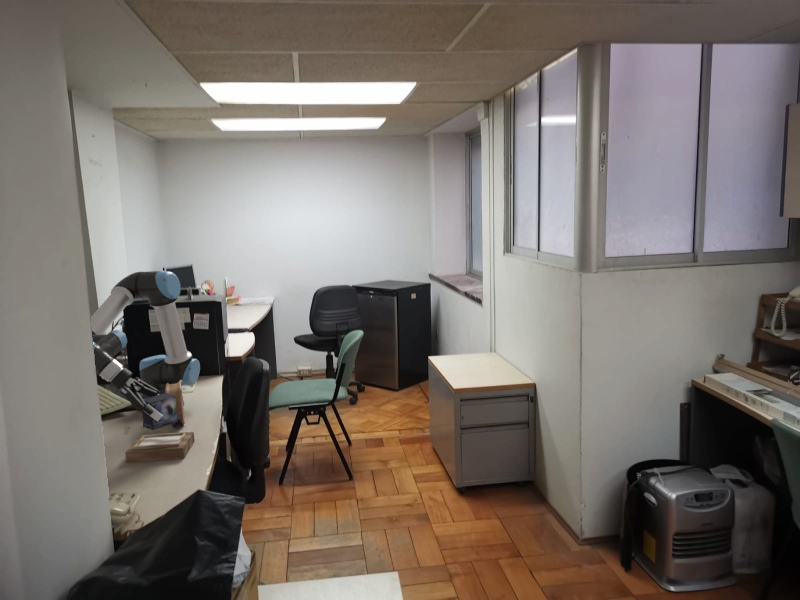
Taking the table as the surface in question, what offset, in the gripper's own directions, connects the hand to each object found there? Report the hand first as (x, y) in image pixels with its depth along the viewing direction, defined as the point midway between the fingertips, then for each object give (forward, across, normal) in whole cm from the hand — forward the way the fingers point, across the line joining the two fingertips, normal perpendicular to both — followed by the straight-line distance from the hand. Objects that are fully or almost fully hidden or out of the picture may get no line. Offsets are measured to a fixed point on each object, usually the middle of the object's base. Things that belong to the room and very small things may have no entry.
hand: (165, 413), depth 221 cm
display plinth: (+9, 0, -12) cm, 15 cm away
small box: (+2, 0, -5) cm, 5 cm away
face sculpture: (+7, -33, -14) cm, 36 cm away
